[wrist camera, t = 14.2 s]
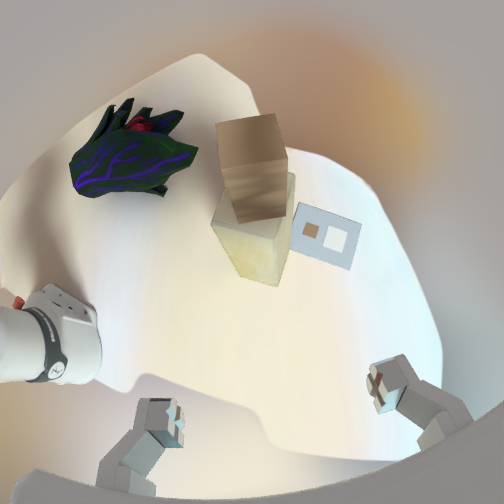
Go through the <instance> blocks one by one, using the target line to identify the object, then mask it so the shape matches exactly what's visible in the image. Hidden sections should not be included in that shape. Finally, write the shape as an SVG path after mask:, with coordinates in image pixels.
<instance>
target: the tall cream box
mask: <svg viewBox="0 0 504 504" xmlns="http://www.w3.org/2000/svg"><path fill="white" fill-rule="evenodd" d="M294 192H295V174H293V173H290V172H288V173H287V205H286V216H285V217H278V218H272V219H266V220H261V221H255V222H249V223H243V224H238V221H237V218H236V215H235V212H234V209H233V206H232V203H231V200H230V197H229V194H228V191H227V188H226V187H225V189H224V192H223V194H222V197H221V199H220V201H219V204H218V206H217V209H216V211H215V213H214V216H213V219H212V221H211V227H212V228H213V230H214V232H215V234H216V235H217V237H218V239H219V241H220V242H221V244H222V246H223V248H224V249H225V251H226V253H227V254H228V256H229V258H230V260H231V261H232V263H233V265H234V267H235V268H236V270H237V272H238V274H239V275H240V276H241V277H243V278H246V279H250V280H253V281H256V282H260V283H263V284H267V285H270V286H274V287H278V285H279V282H280V279H281V275H282V272H283V269H284V266H285V262H286V259H287V255H288V252H289V249H290V245H291V234H292V221H293V207H294Z"/></svg>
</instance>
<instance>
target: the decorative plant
mask: <svg viewBox="0 0 504 504" xmlns="http://www.w3.org/2000/svg"><path fill="white" fill-rule="evenodd" d="M133 102H134V98H130V99H127V100H126V101H125V102H124V103H123V104H122V105H121V107H120V108H119V109H118V110H117V111H116V112H115V113H114V106H116V105H110V106H109V107H108V108H107V110H106V112H105V114H104V116H103V118H102V120H101V122H100V123H99V125H98V127H97V129H96V130H95V132H94V133H93V135H92V136H91V138H90V139H89V141H88V142H87V143H86V144H85V145H84V146H83V147H82V148H81V149H80V150H78V151H77V152H76V153H75V154H74V155H73V158H72V161H71V162H70V163H69V167H70V173H71V178H72V183H73V187H74V188H75V190H76V191H77V192H78V194H80V195H83V196H85V197H89V198H96V197H100V196H102V195H104V194H107V193H109V192H125V191H129V192H146V193H151V194H157V195H159V196H162V197H164V195H165V193H166V191H167V188H165V187H164V186H163V185H162V184H164V183H165V182H166V181H167V179H168V178H169V176H171V175H172V174H174V173H175V172H178V171H180V170H182V169H185V168H187V167H190V165H191V164H192V162H193V160H194V158H195V155H196V153H197V151H198V149H199V148H198V147H194V146H191V145H187V144H184V143H180V142H177V141H175V140H173V139H172V138H171V137H169V136H168V134H169V133H170V132H171V131H172V130H173V129H174V128H175V127H176V126H177V124H178V123H179V122H180V120H181V119H182V118H183V115H184V112H182V111H179V110H173V111H170V112H167V113H164V114H161V115H157V116H154V117H150V113H151V111H152V109H153V108H147V107H143V108H142V109H141V110H140V111H139V112H138V113H137V114H136V115H135V116H134V117H133V118H132V119H131V120H130V121H129V122H128V123H127V124H126V125H125V123H126V121H127V119H128V117H129V115H130V112H131V109H132V106H133ZM149 117H150V118H149Z"/></svg>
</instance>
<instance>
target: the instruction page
mask: <svg viewBox="0 0 504 504" xmlns="http://www.w3.org/2000/svg"><path fill="white" fill-rule="evenodd" d="M361 225H362V224H359V223H356V222H354V221H351V220H348V219H346V218H343V217H340V216H337V215H334V214H332V213H329V212H326V211H323V210H320V209H317V208H314V207H312V206H309V205H306V204H303V203H299V206H298V209H297V211H296V214H295V217H294V220H293V223H292V234H291V245H290V250H292V251H295V252H298V253H301V254H304V255H307V256H310V257H312V258H315V259H318V260H321V261H324V262H327V263H329V264H332V265H335V266H338V267H341V268H343V269H346V270H349V271H350V268H351V264H352V261H353V257H354V253H355V249H356V246H357V242H358V238H359V234H360V229H361Z"/></svg>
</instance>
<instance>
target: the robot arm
mask: <svg viewBox="0 0 504 504" xmlns="http://www.w3.org/2000/svg"><path fill="white" fill-rule="evenodd" d="M13 307H14V309H13V308H9V307H5V306H1V305H0V383H5V382H13V381H23V380H24V381H26V382H30V383H40V382H55V383H56V384H58V385H63V384H66V383H73V384H78V385H79V384H85V383H88V382H89V381H90V380H92V379H93V378H94V377H95V376H96V374H97V372H98V370H99V368H100V364H101V358H102V349H101V342H100V338H99V335H98V332H97V315H96V312H95V310H93V309H92V308H90V307H88V306H87V305H85V304H84V303H82V302H80V301H79V300H77V299H75V298H74V297H72V296H71V295H69V294H68V293H66V292H65V291H63V290H62V289H60V288H59V287H57V286H55V285H54V284H51V283H49V284H47V285H46V286H44V287H43V288H42V290H41V291H36V292H34V293H32V294H31V295H30V296H29V298H28V299H27V301H26V302H25V301H24V300H23V299H22V298H20V297H16V298H15V302H14V304H13ZM22 307H23V309H22ZM86 311H87V314H86ZM369 370H370V373H369V374H368V375H367V380H366V381H367V388H368V391H369V394H370V395H371V396H373V397H374V398H375V399H374V405H375V408H376V410H377V412H378V415H379V414H382V413H385V412H388V411H391V410H393V409H396V410H397V411H398V412H400V413H401V414H402V415H404V416H405V417H407V418H408V419H409V420H411V421H412V422H413V423H415V424H416V425H418V426H419V427H421V428H422V429H423V430H424V431H423V433H422V434H421V435H420V436H419V438H418V440H417V442H418V445H419V447H420V449H421V451H420V452H418V453H416V454H414V455H412V456H409V457H407V458H405V459H403V460H400V461H398V462H395V463H393V464H391V465H388V466H385V467H383V468H380V469H378V470H375V471H372V472H369V473H366V474H363V475H360V476H357V477H354V478H350V479H347V480H344V481H340V482H336V483H332V484H329V485H324V486H321V487H316V488H312V489H307V490H301V491H297V492H290V493H284V494H278V495H270V496H262V497H253V498H240V499H216V500H214V499H212V500H202V499H176V498H163V497H155V492H156V485H155V484H154V483H153V482H151V481H149V480H148V479H146V476H147V475H148V473H149V472H150V470H151V469H152V468H153V466H154V465H155V463H156V462H157V460H158V459H159V458H160V456H161V455H162V453H163V452H164V450H165V448H183V445H184V434H183V433H182V432H181V430H182V429H183V428H184V426H185V418H184V413H183V410H182V409H181V407H179V406H177V401H176V400H175V398H141V399H140V400H139V402H138V406H137V411H136V416H135V421H134V426H133V430H129V431H128V432H127V434H125V436H124V437H123V438H122V439H121V440H120V441H119V442H118V443H117V444H116V445H115V446H114V447H113V448H112V449H111V450H110V451H109V452H108V453H107V455H106V456H105V457H104V458H103V459H102V460H101V461H100V463H99V469H98V474H97V479H96V485H95V486H92V485H89V484H85V483H81V482H78V481H74V480H71V479H68V478H64V477H61V476H58V475H55V474H53V473H50V472H47V471H45V470H42V469H38V468H37V469H33V470H31V471H30V472H29V473H27V474H26V475H25V476H23V477H22V478H21V479H20V480H19V481H18V482H17V483H16V485H15V487H14V489H13V492H12V495H11V499H10V503H9V504H504V400H503V401H502V402H501V403H499V404H498V405H497V406H495V407H494V408H493V409H491V410H490V411H489V412H487V413H486V414H484V415H483V416H481V417H480V418H478V419H477V420H475V421H474V420H473V418H472V416H471V415H470V413H469V411H468V409H467V408H466V406H465V404H464V403H463V401H462V400H461V399H459V398H457V397H455V396H453V395H451V394H449V393H447V392H445V391H443V390H441V389H439V388H438V387H436V386H434V385H432V384H430V383H428V382H426V381H424V380H421V381H420V380H419V378H418V376H417V375H416V373H415V371H414V370H413V368H412V366H411V365H410V363H409V362H408V360H407V358H406V357H405V355H403V354H400V355H397V356H395V357H391V358H388V359H385V360H382V361H379V362H376V363H373V364H371V365H370V368H369Z"/></svg>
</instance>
